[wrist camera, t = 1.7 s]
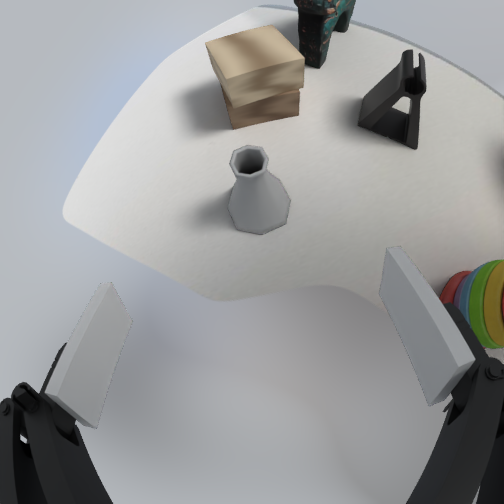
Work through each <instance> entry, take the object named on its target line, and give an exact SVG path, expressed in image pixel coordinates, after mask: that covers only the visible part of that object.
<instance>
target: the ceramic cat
mask: <svg viewBox="0 0 504 504" xmlns="http://www.w3.org/2000/svg"><path fill="white" fill-rule="evenodd" d="M355 2H356V0H294V3H295V5H296V6H297V7H298V15H299V19H298V34H299V41H300V43H299V52H300V53H301V55H302V56H303V57H304V58H305V64H307V65H309V66H313V67H316V68H319V69H320V67H321V66H322V65H323V63H324V62H325V60H326V56H327V51H328V47H329V42H330V38H331V34H332V31H333V30H336V31H338V32H346V31H347V30H348V27H349V22H350V18H351V16H352V13H353V9H354V5H355Z"/></svg>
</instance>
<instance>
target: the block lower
mask: <svg viewBox="0 0 504 504" xmlns="http://www.w3.org/2000/svg"><path fill="white" fill-rule="evenodd" d="M220 84H221V83H220ZM221 87H222V85H221ZM222 91H223V95H224V99H225V103H226V107H227V110H228V114H229V117H230V120H231V124H232V127H233V130H234V129H238V128H242V127H246V126H251V125H255V124H259V123H264V122H268V121H273V120H278V119H283V118H288V117H294V116H299V99H300V91H299V89H296V90H292V91H289V92H285V93H281V94H278V95H274V96H271V97H268V98H264V99H261V100H258V101H255V102H252V103H249V104H246V105H243V106H240V107H237V108H233V106H232V104H231V102H230V100H229V98H228V96H227V94H226V92H225V91H224V89H223V87H222Z"/></svg>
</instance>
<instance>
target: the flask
mask: <svg viewBox="0 0 504 504" xmlns="http://www.w3.org/2000/svg"><path fill="white" fill-rule="evenodd" d="M268 161H269V159H268V157H267V155H266V153H265V151H264V150H263V148H262V147H258V146H251V145H246V146H244V147H241V148H239V149H237V150H234V151H233V154H232V157H231V160H230V163H229V164H230V166H231V168H232V170H233V172H234V175H235V177H236V178H237V180H236V182H235V184H234V186H233V190H232V194H231V197H230V201H229V204H228V210H229V212H230V215H231V217H232V219H233V222H234V224H235V226H236V228H237V230H242V231H247V232H252V233H257V234H265V233H267V232H269V231H271V230H273V229H276V228H278V227H280V226H282V225H285V224H286V221H287V217H288V212H289V207H290V202H291V200H290V198H289V196H288V194H287V192H286V190H285V188H284V187H283V185H282V183H281V181H280V180H279V179H278V178H277V177H275V176H274V175H272V174H271V173H270V172H269V171H268V170H267V165H268Z"/></svg>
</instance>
